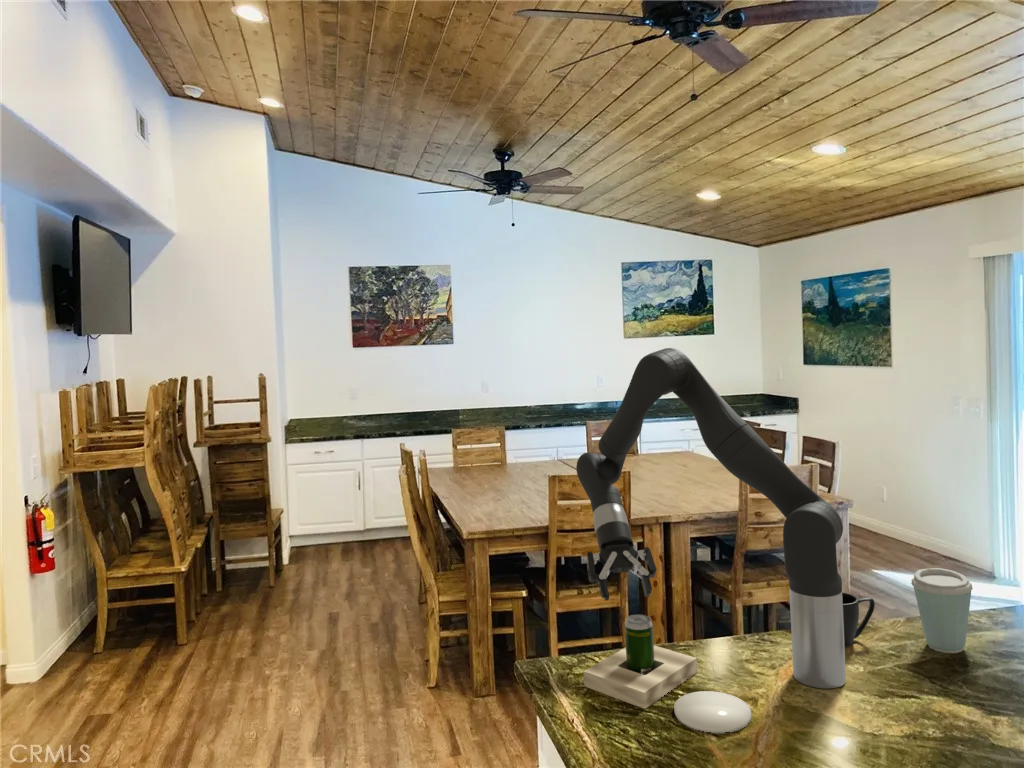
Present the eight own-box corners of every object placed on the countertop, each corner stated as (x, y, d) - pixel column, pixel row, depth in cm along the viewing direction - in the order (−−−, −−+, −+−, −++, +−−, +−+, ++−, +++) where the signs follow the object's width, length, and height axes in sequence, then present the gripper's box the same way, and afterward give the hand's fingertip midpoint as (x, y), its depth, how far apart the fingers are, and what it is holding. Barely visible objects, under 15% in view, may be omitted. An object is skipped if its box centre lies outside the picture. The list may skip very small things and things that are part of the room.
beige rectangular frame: (638, 654, 149) (637, 640, 149) (697, 672, 139) (696, 658, 139) (584, 686, 137) (583, 671, 137) (644, 709, 127) (644, 692, 127)
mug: (886, 647, 146) (884, 601, 145) (828, 651, 146) (826, 605, 145) (865, 631, 154) (863, 588, 154) (810, 635, 154) (809, 592, 153)
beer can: (661, 681, 137) (657, 620, 136) (638, 688, 134) (635, 626, 134) (644, 670, 142) (641, 612, 141) (622, 677, 139) (618, 618, 139)
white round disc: (698, 688, 133) (698, 684, 133) (764, 710, 124) (764, 705, 124) (660, 716, 124) (659, 712, 124) (728, 742, 115) (728, 737, 115)
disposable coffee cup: (987, 657, 139) (985, 581, 138) (932, 660, 139) (929, 584, 138) (954, 635, 149) (951, 565, 149) (903, 638, 149) (900, 568, 149)
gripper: (582, 522, 153) (595, 591, 142) (646, 517, 154) (664, 585, 144) (579, 540, 159) (591, 608, 148) (641, 535, 160) (658, 602, 149)
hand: (627, 597), depth 146 cm, fingers open, 8 cm apart
